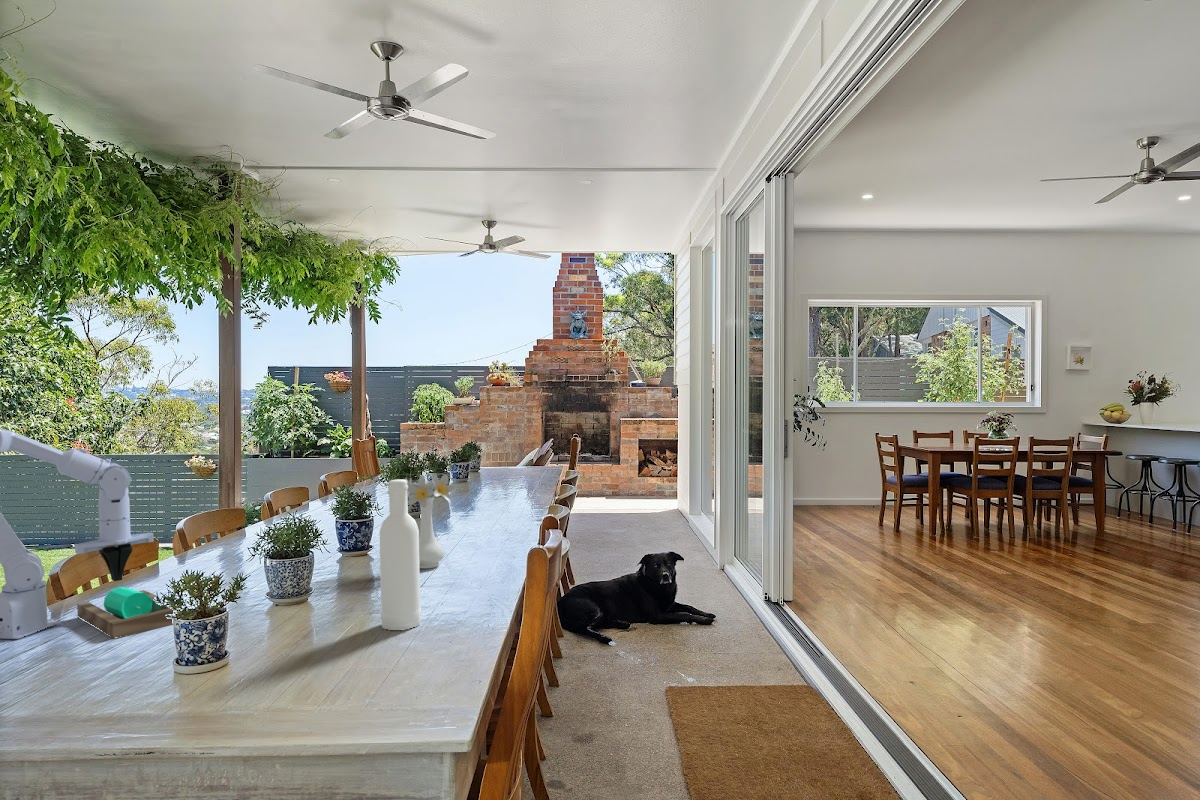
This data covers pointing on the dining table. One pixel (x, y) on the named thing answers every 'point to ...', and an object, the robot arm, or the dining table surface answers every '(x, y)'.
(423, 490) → the flower vase
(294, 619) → the dining table surface
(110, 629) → the u rest
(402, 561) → the bottle
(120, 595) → the candle
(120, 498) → the robot arm
